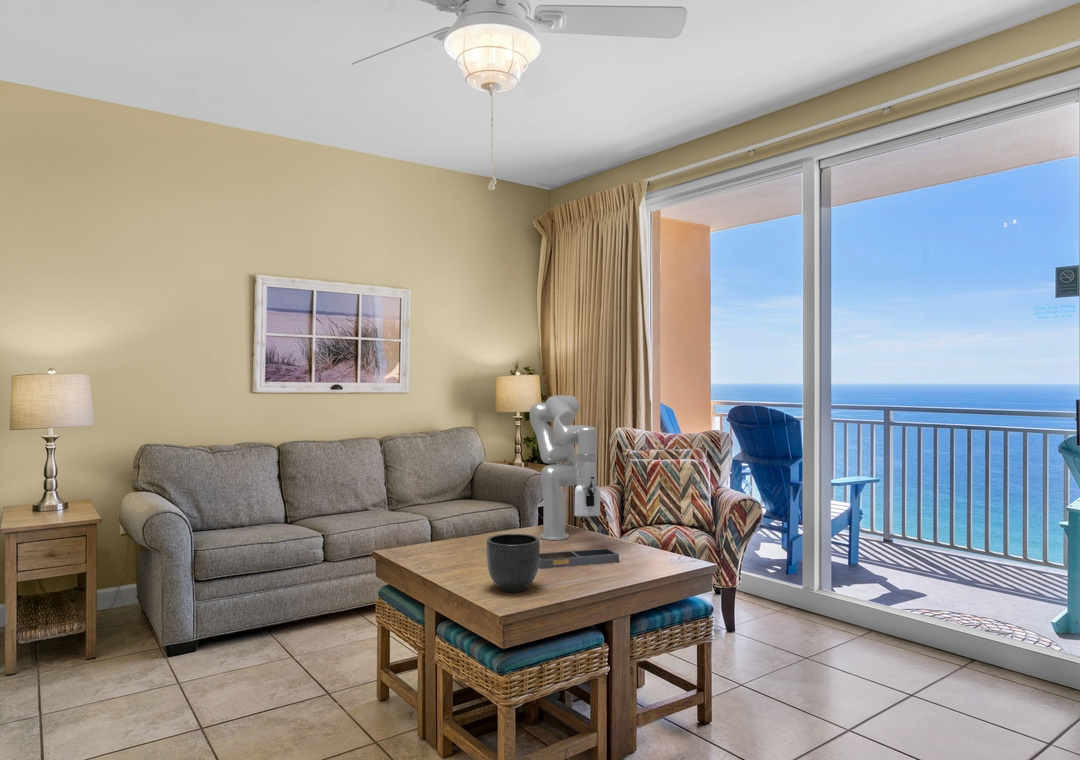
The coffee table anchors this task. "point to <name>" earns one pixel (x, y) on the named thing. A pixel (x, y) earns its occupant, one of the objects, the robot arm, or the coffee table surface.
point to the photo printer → (581, 502)
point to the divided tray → (577, 558)
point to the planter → (513, 560)
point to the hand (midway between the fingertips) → (587, 504)
